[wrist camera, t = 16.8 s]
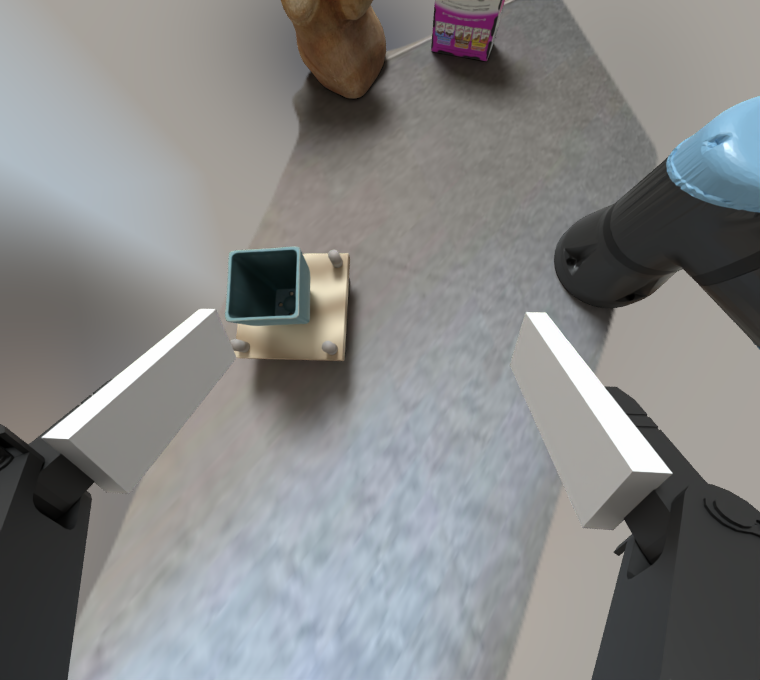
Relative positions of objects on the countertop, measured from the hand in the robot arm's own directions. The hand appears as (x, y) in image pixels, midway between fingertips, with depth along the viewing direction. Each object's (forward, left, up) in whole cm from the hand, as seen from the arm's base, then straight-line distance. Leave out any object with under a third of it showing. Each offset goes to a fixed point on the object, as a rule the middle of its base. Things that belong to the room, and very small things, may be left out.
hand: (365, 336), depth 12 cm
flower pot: (+1, -17, -27) cm, 32 cm away
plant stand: (+1, -18, -33) cm, 37 cm away
